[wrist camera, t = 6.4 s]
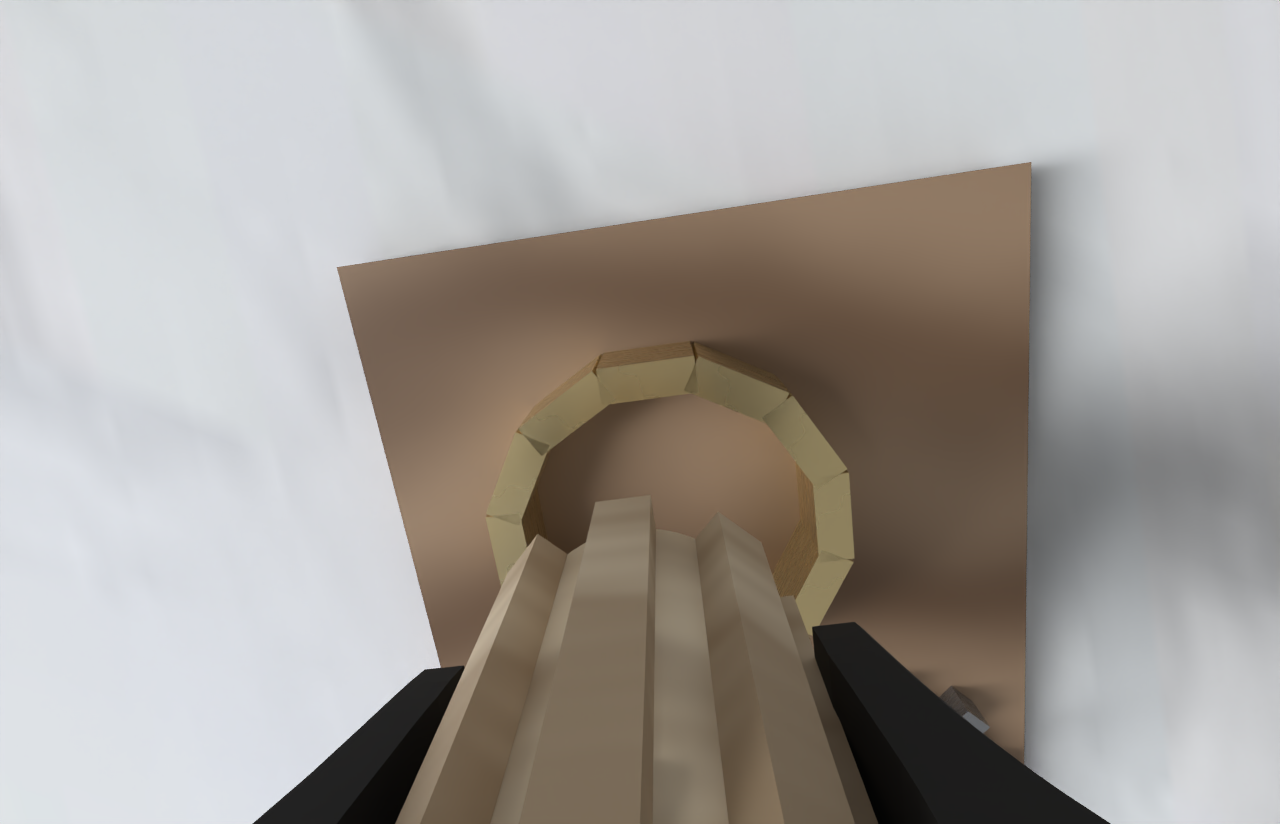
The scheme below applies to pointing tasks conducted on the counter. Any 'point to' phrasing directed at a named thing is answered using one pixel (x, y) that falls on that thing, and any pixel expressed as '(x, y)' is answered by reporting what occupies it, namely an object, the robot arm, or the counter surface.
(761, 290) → the walnut board
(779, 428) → the brass ring socket
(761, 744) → the maple gear
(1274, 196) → the counter surface
